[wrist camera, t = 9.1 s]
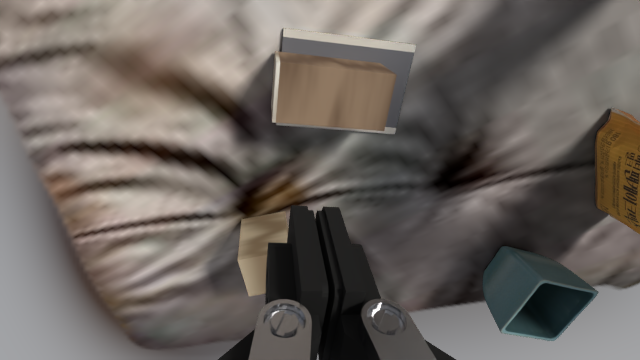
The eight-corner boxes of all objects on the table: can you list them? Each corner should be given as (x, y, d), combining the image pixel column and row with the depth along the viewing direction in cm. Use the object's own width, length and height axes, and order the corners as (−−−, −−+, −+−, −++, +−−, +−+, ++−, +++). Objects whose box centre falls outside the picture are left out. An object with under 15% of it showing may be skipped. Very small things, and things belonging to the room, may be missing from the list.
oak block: (284, 211, 42) (288, 250, 36) (292, 245, 44) (296, 287, 38) (241, 219, 41) (237, 260, 35) (251, 252, 44) (249, 296, 38)
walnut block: (274, 51, 33) (380, 63, 35) (271, 104, 35) (370, 113, 37) (276, 61, 28) (396, 74, 30) (272, 122, 31) (384, 131, 33)
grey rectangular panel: (414, 44, 35) (416, 44, 34) (393, 133, 39) (394, 134, 38) (283, 27, 32) (283, 28, 32) (275, 123, 36) (276, 125, 36)
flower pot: (463, 280, 51) (499, 334, 43) (496, 230, 47) (542, 279, 40) (512, 289, 53) (555, 342, 46) (548, 243, 50) (601, 291, 42)
